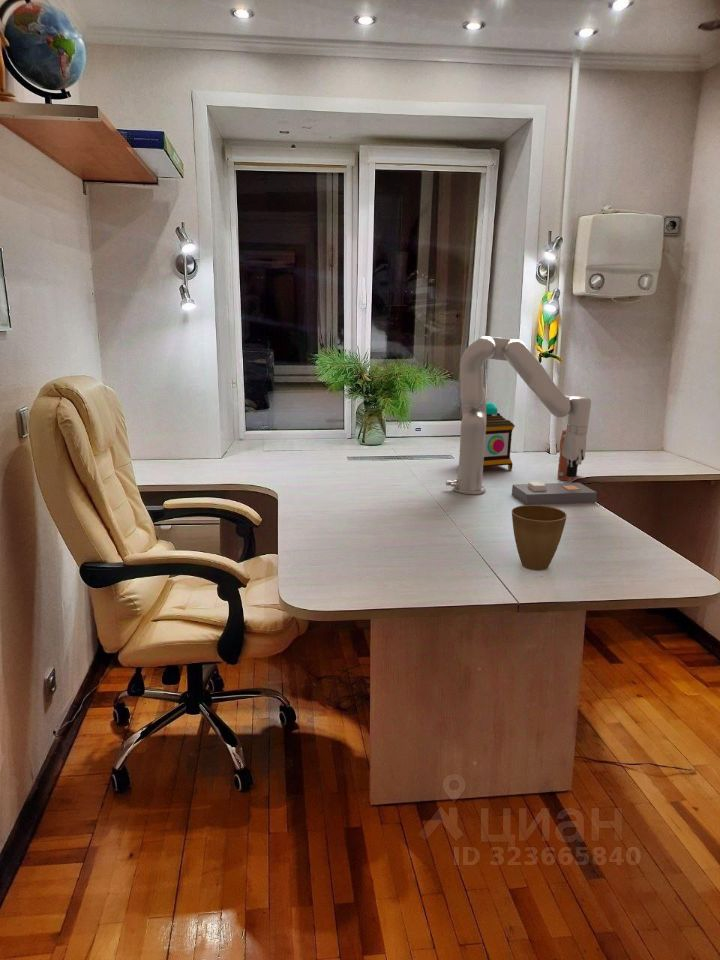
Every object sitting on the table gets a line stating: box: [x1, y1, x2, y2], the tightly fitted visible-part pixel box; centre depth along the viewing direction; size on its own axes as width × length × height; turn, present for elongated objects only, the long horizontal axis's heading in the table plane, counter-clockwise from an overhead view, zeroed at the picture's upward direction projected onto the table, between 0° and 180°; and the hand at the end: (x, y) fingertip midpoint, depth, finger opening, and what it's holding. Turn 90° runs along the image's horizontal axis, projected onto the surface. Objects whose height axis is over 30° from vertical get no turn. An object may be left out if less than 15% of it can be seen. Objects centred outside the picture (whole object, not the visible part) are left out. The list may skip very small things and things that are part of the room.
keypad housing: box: [511, 482, 598, 505], centre depth 253 cm, size 28×14×4 cm, turn 100°
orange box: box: [556, 427, 579, 482], centre depth 282 cm, size 21×7×15 cm
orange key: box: [562, 486, 580, 490], centre depth 254 cm, size 5×5×3 cm
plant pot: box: [511, 504, 568, 571], centre depth 185 cm, size 15×15×16 cm
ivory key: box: [527, 481, 546, 491], centre depth 251 cm, size 5×5×3 cm
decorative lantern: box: [483, 401, 516, 471], centre depth 295 cm, size 20×20×30 cm
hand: (571, 476), depth 252 cm, fingers closed
